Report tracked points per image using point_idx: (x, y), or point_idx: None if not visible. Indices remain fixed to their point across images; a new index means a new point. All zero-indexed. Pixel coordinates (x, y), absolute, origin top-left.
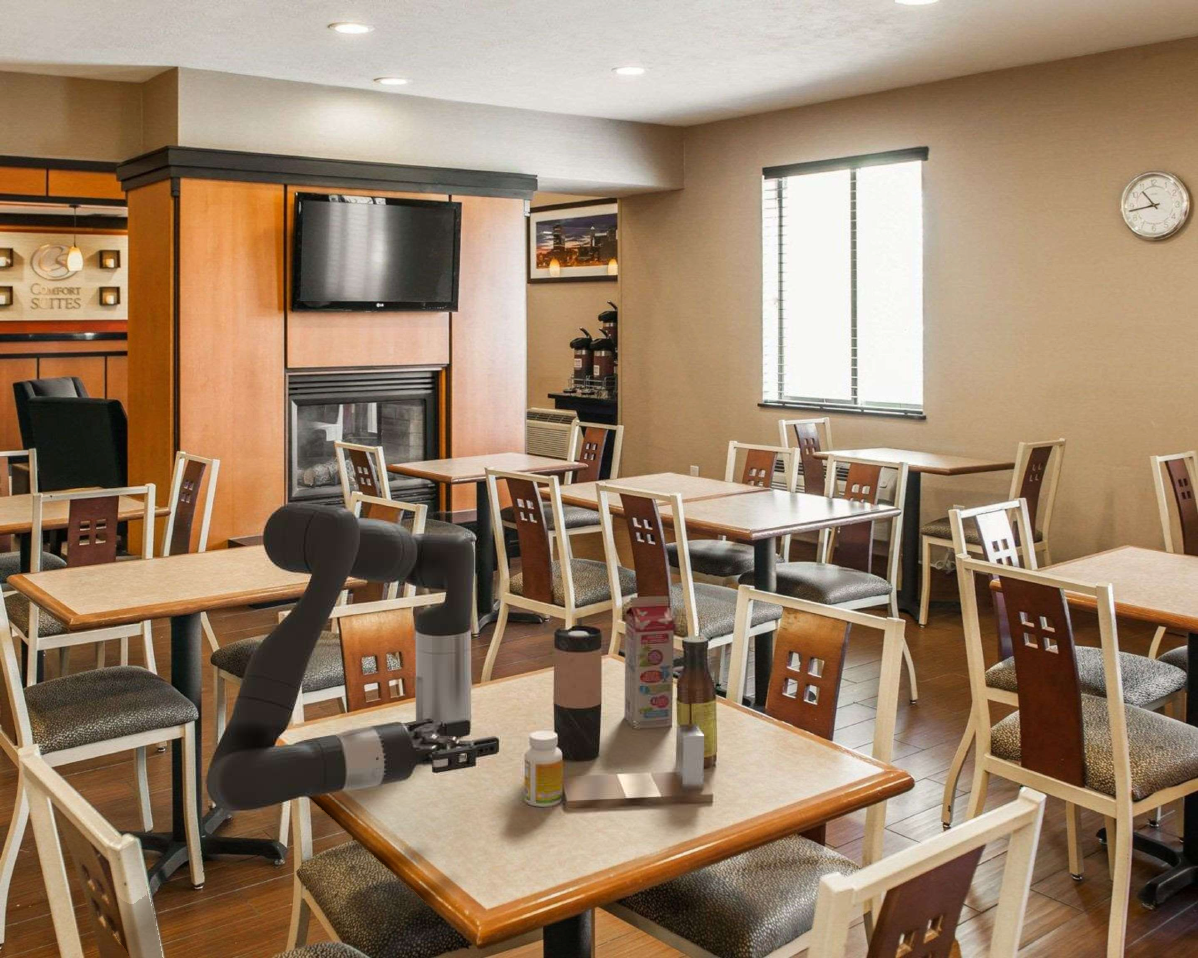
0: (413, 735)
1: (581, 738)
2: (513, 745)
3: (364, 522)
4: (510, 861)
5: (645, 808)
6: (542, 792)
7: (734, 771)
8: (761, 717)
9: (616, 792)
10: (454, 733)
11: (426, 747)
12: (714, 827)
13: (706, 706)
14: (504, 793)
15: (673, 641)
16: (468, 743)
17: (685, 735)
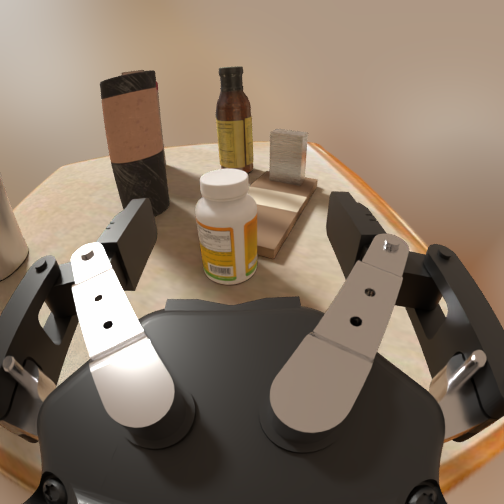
0: (137, 439)
1: (161, 187)
2: (81, 236)
3: None
4: (413, 371)
5: (309, 213)
6: (252, 258)
7: (267, 165)
8: (197, 144)
9: (277, 213)
10: (139, 256)
11: (429, 434)
12: (365, 201)
13: (251, 119)
14: (174, 293)
15: (158, 98)
16: (404, 250)
17: (301, 135)
